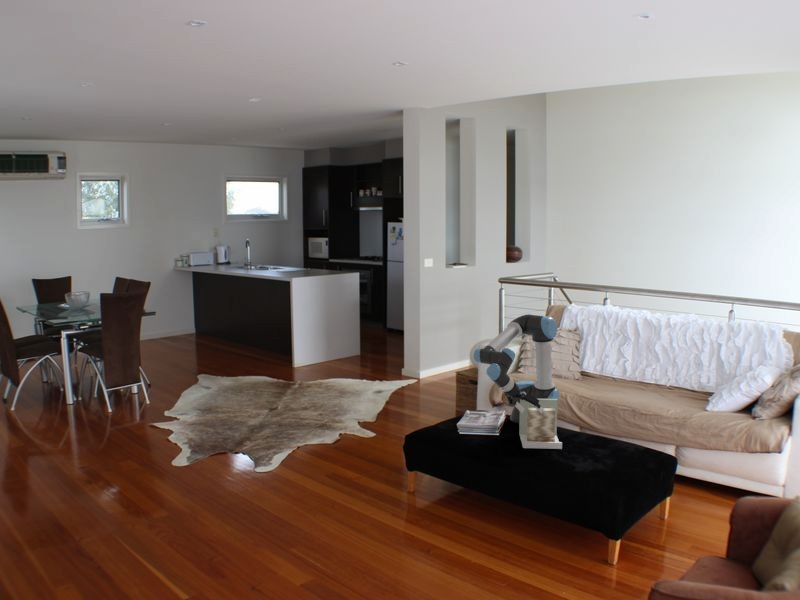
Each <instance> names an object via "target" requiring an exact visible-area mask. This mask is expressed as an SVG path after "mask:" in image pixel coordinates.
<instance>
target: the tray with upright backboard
mask: <svg viewBox="0 0 800 600" xmlns="http://www.w3.org/2000/svg"><path fill="white" fill-rule="evenodd" d="M538 400H539V404H540V405H541V407H542V408H554V409H555V434H554V439H555V442H536V441H527V409H528V408H535V407H534V405H533V404H531V403H529V402H527V401H525V400H521V399H520V405H521V406H522V407H523V408H524V411H523V413H521V412H520V424H519V426H518V427H519V428H518V429H519V431H518V432H519V437H520V441H521V446H522V448H523V449H546V450H547V449H549V450H551V449H553V450H554V449H555V450H562V449H563V442H562V441H559V438H558V434H557V430H558V429H557V428H558V405H559V404H558V402H559V400H557V399H538Z"/></svg>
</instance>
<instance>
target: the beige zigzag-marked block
mask: <svg viewBox="0 0 800 600" xmlns="http://www.w3.org/2000/svg"><path fill="white" fill-rule="evenodd" d="M554 434H555V409H554V408H543V412H542V413H540V412H539V411H538V410H537V409H536V408H528V409H527V441H532V440H535V441H536V440H537V437H554Z"/></svg>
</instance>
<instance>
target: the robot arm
mask: <svg viewBox="0 0 800 600" xmlns="http://www.w3.org/2000/svg"><path fill="white" fill-rule="evenodd" d="M557 332H558V324H557V322H556V320H555V319H554V318H553V317H551V316H547V315H534V314H523V315H521V316H518V317H516V318H514V319H513V320H511V321H510V322H509V323H507V326H506V328H505V329H503V330H502V332H500V333H499V334H498V335H497V336H495V337H494V339H492V340H491V341H490V342H489V343H488V344H486V346H484V347H483V348H482V347H480V348H479V347H478V348H476V349H475V350H474V352H473V360H474V361H475V362H476V363H480V364H486V365H488V366H487V368H486V375H487V377H489V379H490V380H491V381H492V382H493V383H495V385H497V386H498V388H499V389H500V390H501V391H502V392H504V396H505V397H506V401H507V402H508V405H510V406H511V405H512V406H513V408H512V410H511V414H510V416H509V417H510V418H509V419H510V421H511V422H512V423H516V424H519V425H520V412H521V413H523V411H524V408H523V407H522V406H521V405H520V399H521V400H525V401H527V402H529V403H531V404H533V405H534V407H535V408H536V409H537V410H538V411H539V412H540V413H542V412H543V408H542V407H541V405H540V404H539V400H538V399H557V400H558V401H559V400H560V390H559V389H557V388H556V384H555V383H554V382H553V369H552V367H553V366H552V342H553V341H554V338H555V337H556V336H557ZM524 335H525V336H531V340H532V342H534V347H535V369H536V370H535V371H536V373H535V374H536V382H534V381H533V380H520V381H516V382H515V381H514V380H513V378H511V377H510V376H509V375H508V373H509V370H510V369H511V367H512V364H513V363H514V360H515V358H516V353H515V351H514V350H513V349H512V348H510V347H509V348H508V346H509V345H510V344H511V343H512V342H513V341H514V340H516V338H520V337H521V336H524Z"/></svg>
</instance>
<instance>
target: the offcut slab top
mask: <svg viewBox="0 0 800 600" xmlns="http://www.w3.org/2000/svg"><path fill="white" fill-rule="evenodd" d="M536 441H537V442H555V439H554V437H537V440H536Z"/></svg>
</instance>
